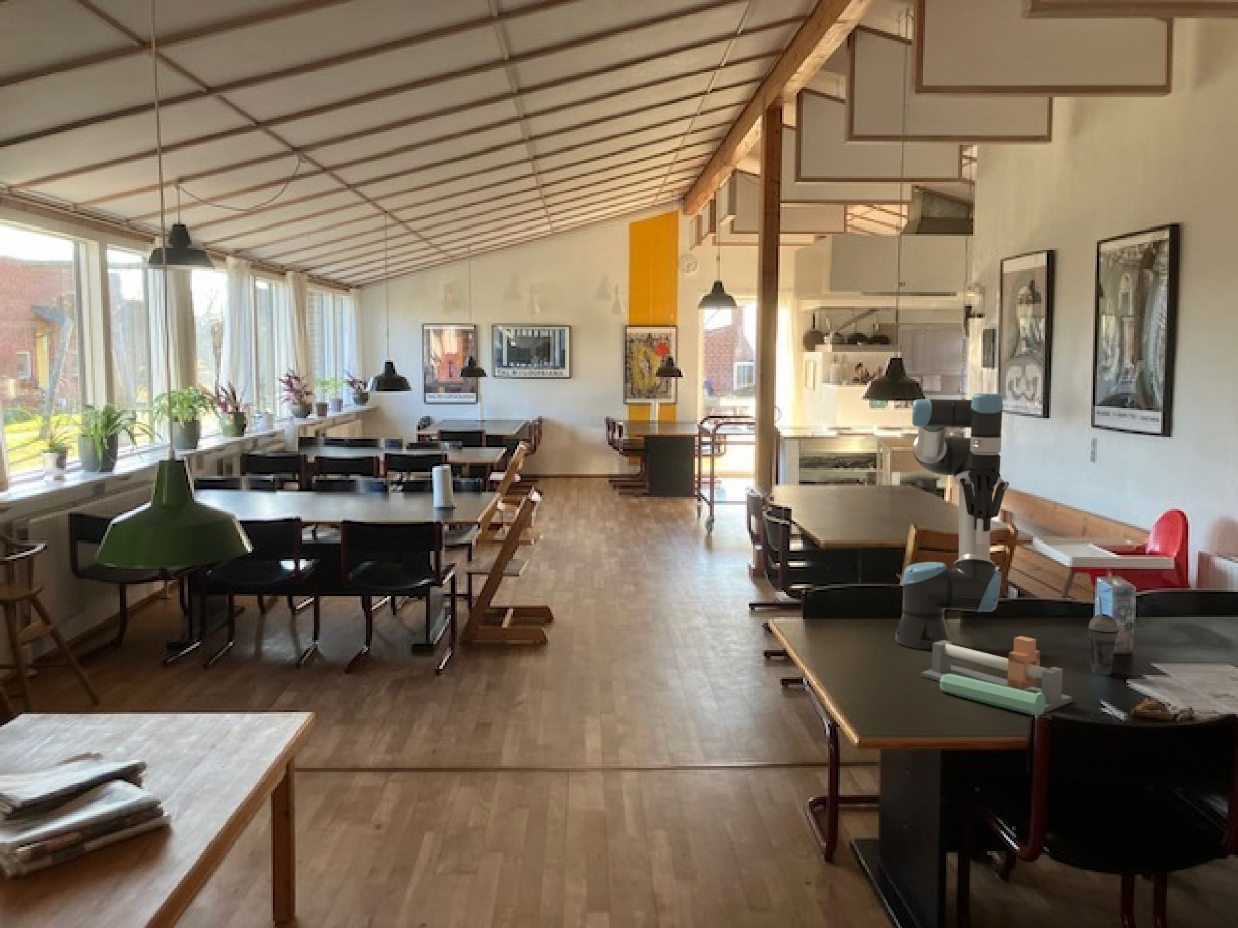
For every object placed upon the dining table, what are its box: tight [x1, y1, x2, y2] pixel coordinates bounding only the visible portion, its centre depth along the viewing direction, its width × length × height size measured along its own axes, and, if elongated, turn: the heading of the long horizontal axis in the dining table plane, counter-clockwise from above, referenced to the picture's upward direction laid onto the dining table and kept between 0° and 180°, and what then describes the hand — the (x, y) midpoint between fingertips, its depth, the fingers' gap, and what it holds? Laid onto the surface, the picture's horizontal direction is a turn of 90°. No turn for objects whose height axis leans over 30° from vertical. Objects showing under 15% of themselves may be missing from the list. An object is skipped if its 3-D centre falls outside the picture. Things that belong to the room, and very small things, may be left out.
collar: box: [1006, 635, 1041, 690], centre depth 245 cm, size 4×7×12 cm, turn 129°
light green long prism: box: [939, 674, 1045, 716], centre depth 242 cm, size 6×6×25 cm
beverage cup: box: [1087, 597, 1119, 676], centre depth 265 cm, size 7×7×20 cm
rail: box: [920, 640, 1073, 713], centre depth 252 cm, size 34×12×9 cm, turn 39°
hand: (981, 543), depth 264 cm, fingers closed
